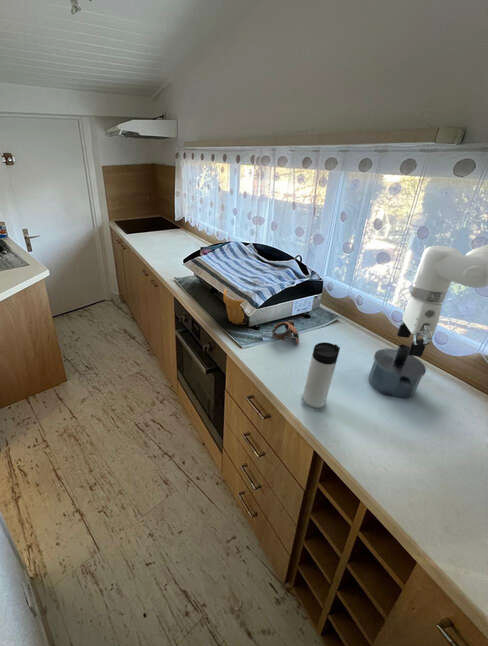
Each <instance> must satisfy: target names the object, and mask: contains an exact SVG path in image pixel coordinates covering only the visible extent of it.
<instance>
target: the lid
mask: <svg viewBox="0 0 488 646" xmlns="http://www.w3.org/2000/svg"><path fill="white" fill-rule="evenodd" d="M393 349H394V348H388V349H386V348H383V349H378V350H376V351H375V352H374V354H373V360H375V362H376V364H377V365H378V366H379V367H381V368H382V369H383V370H385V371H387V372H389V373H391V374H393V375H396V376H399V377H403V378H410V379H415V378H420V377H421V378H422V377H424V376H425V375H426V372H427V368H426V365H424V364H423V362H422V361H421V360H420V359H418V358H417V357H416V356H410V355H408V352H409V349H410V346H409V345H406V344H399V345H398V348H397V349H394V350H393Z"/></svg>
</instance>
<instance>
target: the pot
mask: <svg viewBox="0 0 488 646" xmlns="http://www.w3.org/2000/svg"><path fill="white" fill-rule="evenodd" d="M385 349H389V348H387V347H385ZM392 349H393V350H395V349H394V348H392ZM373 360H374V359H373ZM421 380H422V377H420V378H415V379H410V378H403V377H399V376H396V375H393V374H391V373H389V372H387V371H385V370H383V369H382V368H381V367H379V366H378V365H377V364H376V362H375V360H374V361H373V363H372V366H371V369H370V371H369V374H368V382H369V384H370V386H371V387H372V388H373V389H374V390H375V391H376V392H378V393H380V394H382V395H384V396H386V397H390V398H391V397H392V398H397V399H401V400H402V399H403V400H407V399H410V398H412V397H413V396H414V395H415V393H416V390H417V388H418V386H419V384H420V382H421Z"/></svg>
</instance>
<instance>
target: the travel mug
mask: <svg viewBox="0 0 488 646" xmlns="http://www.w3.org/2000/svg"><path fill="white" fill-rule="evenodd" d="M340 350H341V348H340V346H338V344H333V343H332V342H318V343H316V344H315V345H314V346H313V350H312V355H311V359H310V364H309V368H308V371H307V375H306V382H305V385H304V390H303V395H302V401H303V403H304V404H305V405H306V406H308V408H309V407H310V408H312V409H317V410H319V409H323V408H324V407H325V406H326V401H327V399H328V394H329V390H330V386H331V383H332V380H333V376H334V373H335V369H336V366H337V362H338V357H339V353H340Z"/></svg>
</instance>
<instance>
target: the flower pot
mask: <svg viewBox="0 0 488 646" xmlns="http://www.w3.org/2000/svg"><path fill="white" fill-rule="evenodd" d="M226 290H227V288H225V289H224V290H223V303H224V304H225V307H226V314H227V318H228V321H229V322H230V323H232V324H234V325H246V323H242V322H243V319H244V313H243V311H242V308H241V306H240V304H241V303H242V302H244V300H234V299H231V298H229V297H227V296H226ZM231 321H232V322H231ZM239 323H241V324H239Z"/></svg>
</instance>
